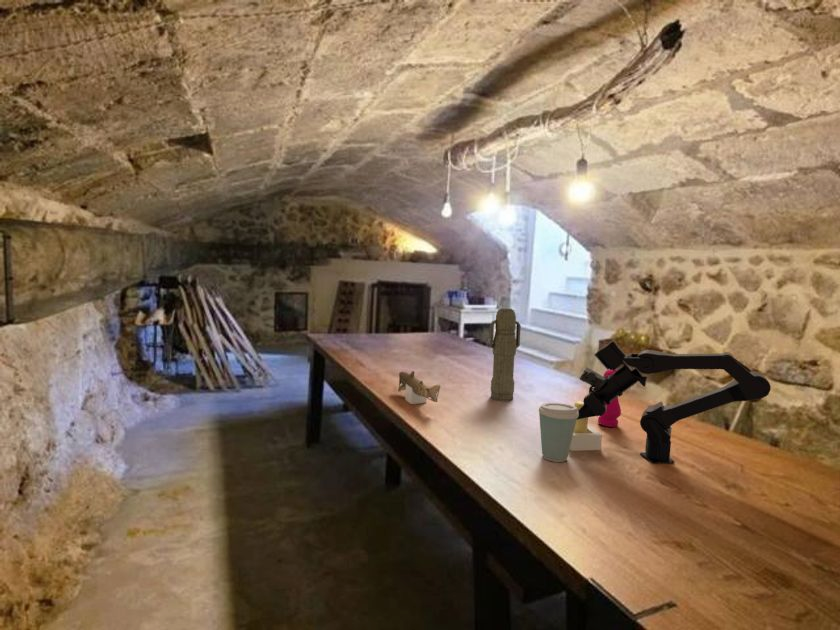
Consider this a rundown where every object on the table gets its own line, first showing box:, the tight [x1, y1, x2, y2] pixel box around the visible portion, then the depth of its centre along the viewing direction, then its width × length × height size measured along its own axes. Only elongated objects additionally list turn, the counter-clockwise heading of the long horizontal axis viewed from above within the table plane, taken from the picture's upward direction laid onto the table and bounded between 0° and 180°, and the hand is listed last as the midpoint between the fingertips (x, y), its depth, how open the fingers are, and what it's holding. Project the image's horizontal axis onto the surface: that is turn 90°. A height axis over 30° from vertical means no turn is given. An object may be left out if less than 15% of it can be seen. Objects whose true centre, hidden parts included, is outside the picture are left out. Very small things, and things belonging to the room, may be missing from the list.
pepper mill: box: [597, 368, 622, 428], centre depth 163 cm, size 7×7×20 cm
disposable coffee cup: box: [538, 402, 579, 463], centre depth 135 cm, size 11×11×15 cm
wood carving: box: [397, 370, 441, 405], centre depth 182 cm, size 9×35×11 cm, turn 23°
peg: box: [574, 400, 589, 433], centre depth 145 cm, size 4×4×12 cm
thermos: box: [489, 307, 522, 402], centre depth 191 cm, size 9×12×35 cm
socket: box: [569, 424, 603, 452], centre depth 146 cm, size 9×9×4 cm
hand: (575, 413), depth 145 cm, fingers open, 9 cm apart
